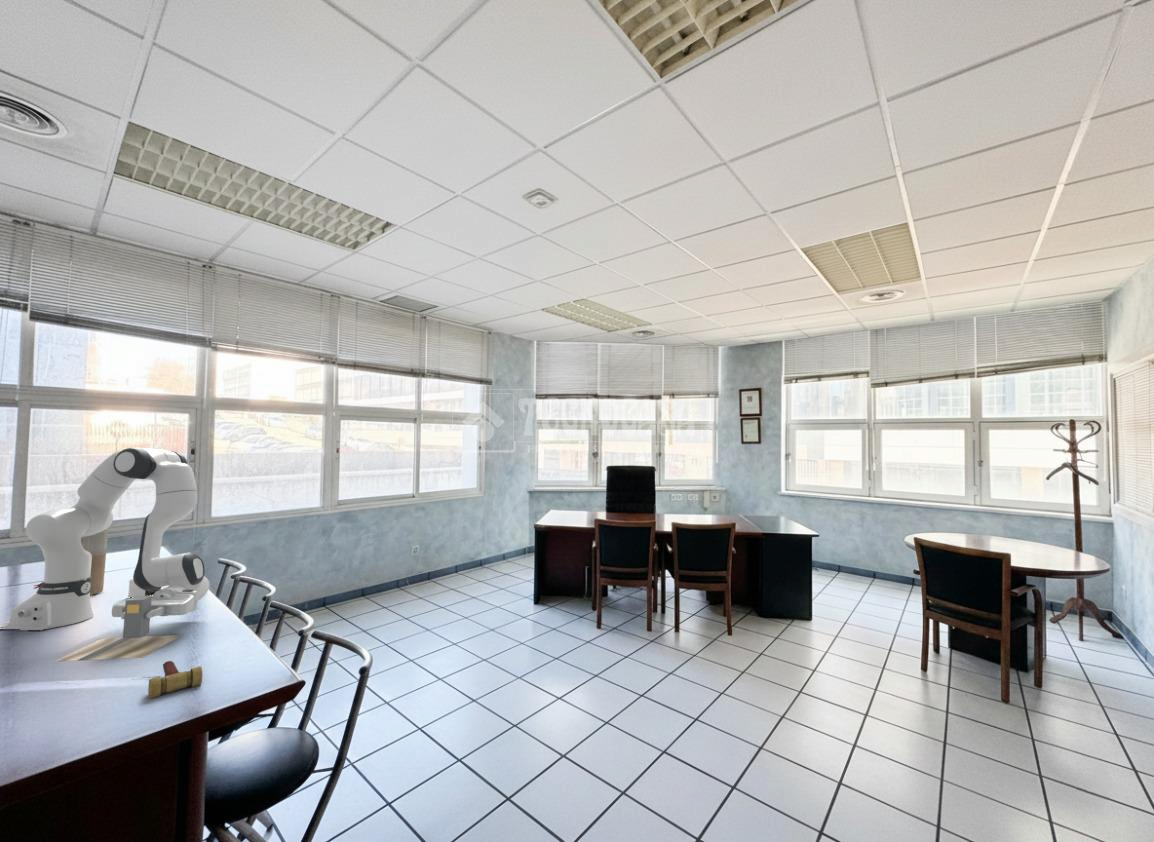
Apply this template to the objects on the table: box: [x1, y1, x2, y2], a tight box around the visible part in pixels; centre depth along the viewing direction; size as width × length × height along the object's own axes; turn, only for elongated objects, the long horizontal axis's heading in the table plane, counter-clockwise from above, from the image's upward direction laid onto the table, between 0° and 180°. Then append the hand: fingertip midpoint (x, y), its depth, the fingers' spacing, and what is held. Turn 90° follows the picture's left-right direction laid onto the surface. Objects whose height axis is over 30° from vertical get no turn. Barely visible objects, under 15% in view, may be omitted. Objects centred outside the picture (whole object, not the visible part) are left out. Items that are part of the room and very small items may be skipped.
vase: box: [81, 527, 109, 596], centre depth 191 cm, size 10×10×28 cm
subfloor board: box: [53, 634, 183, 662], centre depth 138 cm, size 22×16×2 cm
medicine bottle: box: [127, 578, 162, 597], centre depth 190 cm, size 7×7×12 cm
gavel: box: [147, 660, 203, 700], centre depth 124 cm, size 21×5×10 cm
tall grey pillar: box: [122, 596, 152, 638], centre depth 139 cm, size 4×4×11 cm
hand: (135, 616), depth 138 cm, fingers closed on tall grey pillar, 4 cm apart
